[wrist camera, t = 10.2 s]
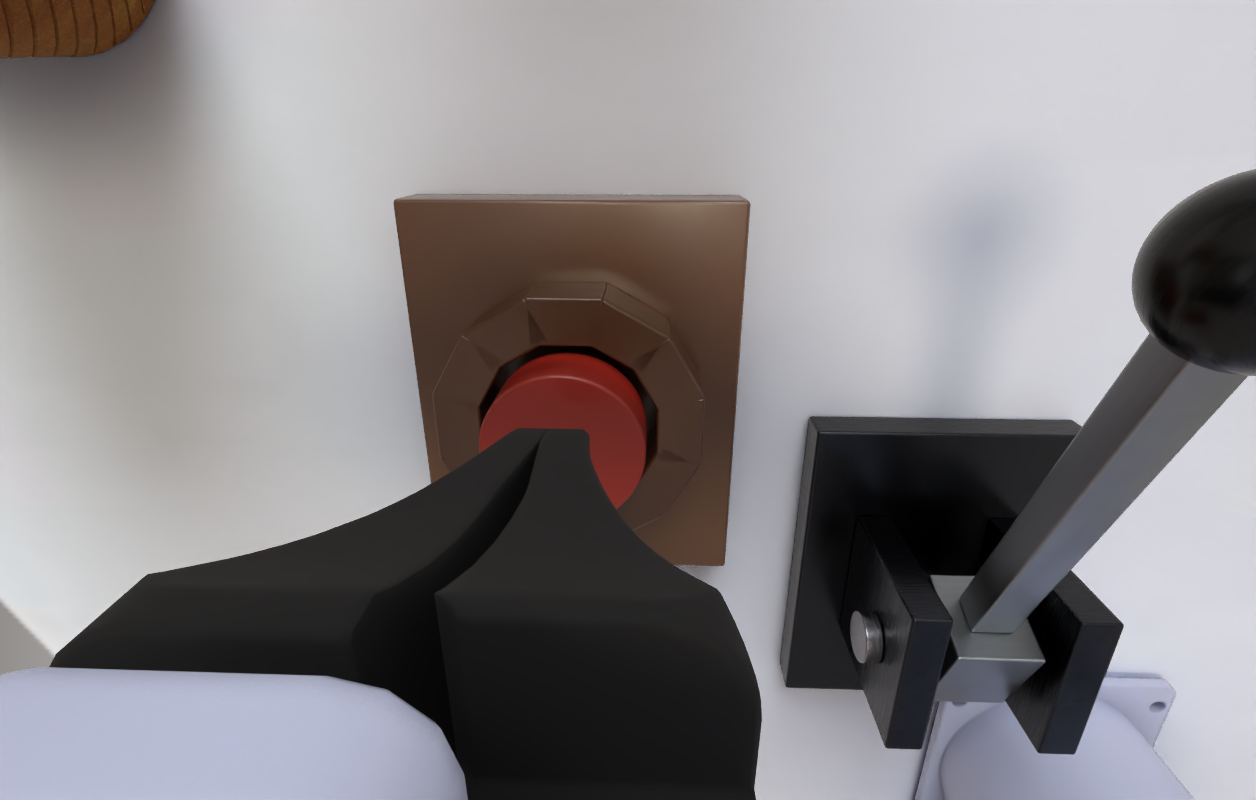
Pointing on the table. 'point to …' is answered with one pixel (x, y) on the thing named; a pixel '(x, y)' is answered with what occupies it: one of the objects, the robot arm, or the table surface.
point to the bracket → (928, 569)
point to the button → (577, 414)
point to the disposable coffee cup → (67, 26)
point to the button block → (589, 329)
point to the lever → (1117, 433)
